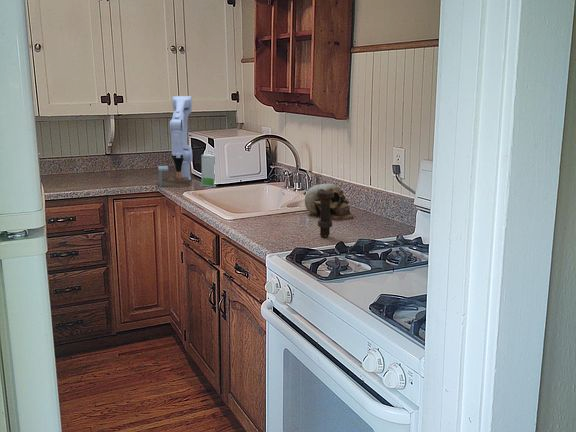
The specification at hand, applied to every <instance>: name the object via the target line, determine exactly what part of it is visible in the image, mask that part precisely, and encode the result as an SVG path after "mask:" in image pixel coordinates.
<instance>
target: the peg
mask: <svg viewBox="0 0 576 432" xmlns="http://www.w3.org/2000/svg"><path fill="white" fill-rule="evenodd" d="M175 177H176V180H177V179H182V169H181V172H177V171H176V170H175Z"/></svg>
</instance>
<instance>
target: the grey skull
mask: <svg viewBox="0 0 576 432" xmlns="http://www.w3.org/2000/svg"><path fill="white" fill-rule="evenodd" d="M319 191H332V192H334V197H332V198H331V202H330V220H339V221H343V220H345V221H346V220H351V219H353V218H354V216H353V214H352V213H351V211H350V210H351V209H350V206H349V205H348V204H349V203H350V202H349V200H348V199H347V198H346V196H345V195H344V191H343V190H341V189H340V188H339V186H338V185H336V184H334V183H319V184H316V185H313V186H310V188H309V189H308V190H307V191H306V193H305V196H304V206H305V209H306V211H308V212H309V213H310V214H311V215H312V216H314V217H316V216H317V217H320V198H319V197H318V196H317V192H319Z"/></svg>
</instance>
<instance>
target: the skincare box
mask: <svg viewBox="0 0 576 432" xmlns="http://www.w3.org/2000/svg"><path fill="white" fill-rule="evenodd" d="M211 154H212V153H206V154H201V187H208V188H217V187H216V185H215V184H214V181H215V174H214V165H215V156H214V155H211Z"/></svg>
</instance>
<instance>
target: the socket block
mask: <svg viewBox="0 0 576 432" xmlns="http://www.w3.org/2000/svg"><path fill="white" fill-rule="evenodd" d="M163 187H170V188H171V187H190V180H189V178H188V177H182V179H177V180H176V176H175V177H162V188H163Z"/></svg>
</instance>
